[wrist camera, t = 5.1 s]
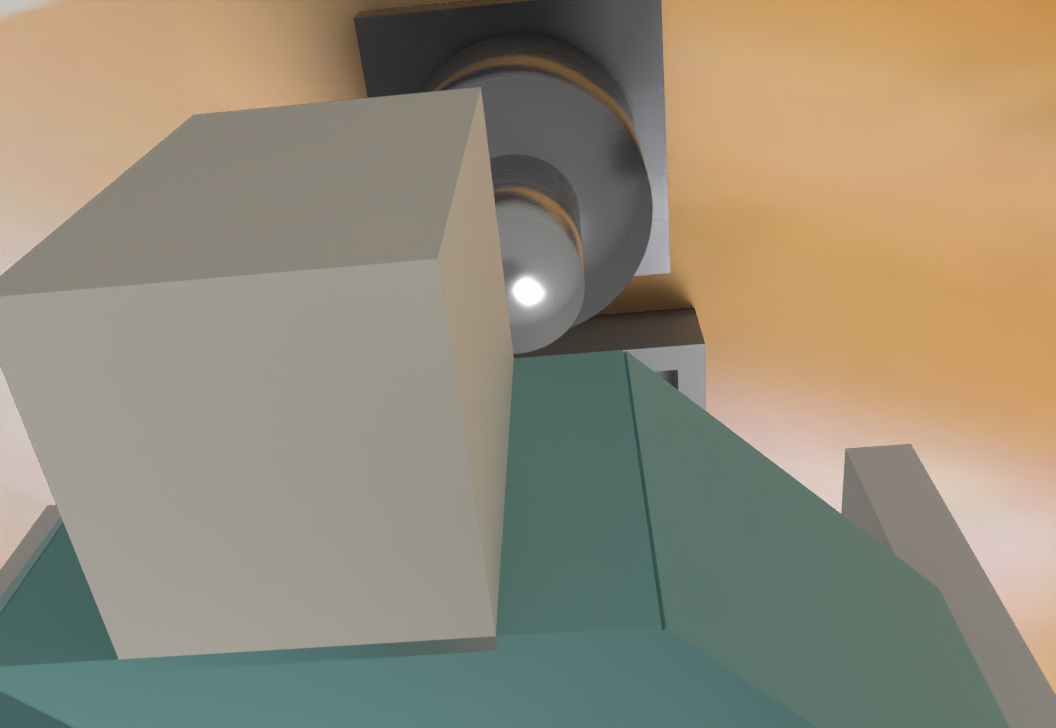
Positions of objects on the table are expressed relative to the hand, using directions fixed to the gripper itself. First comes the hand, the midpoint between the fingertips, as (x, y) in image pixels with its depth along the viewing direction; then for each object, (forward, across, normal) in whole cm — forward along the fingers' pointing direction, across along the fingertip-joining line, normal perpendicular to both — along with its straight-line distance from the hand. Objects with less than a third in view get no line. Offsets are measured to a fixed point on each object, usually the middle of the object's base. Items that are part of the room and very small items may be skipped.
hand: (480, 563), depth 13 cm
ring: (-3, 0, -1) cm, 3 cm away
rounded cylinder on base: (+18, 0, 0) cm, 18 cm away
